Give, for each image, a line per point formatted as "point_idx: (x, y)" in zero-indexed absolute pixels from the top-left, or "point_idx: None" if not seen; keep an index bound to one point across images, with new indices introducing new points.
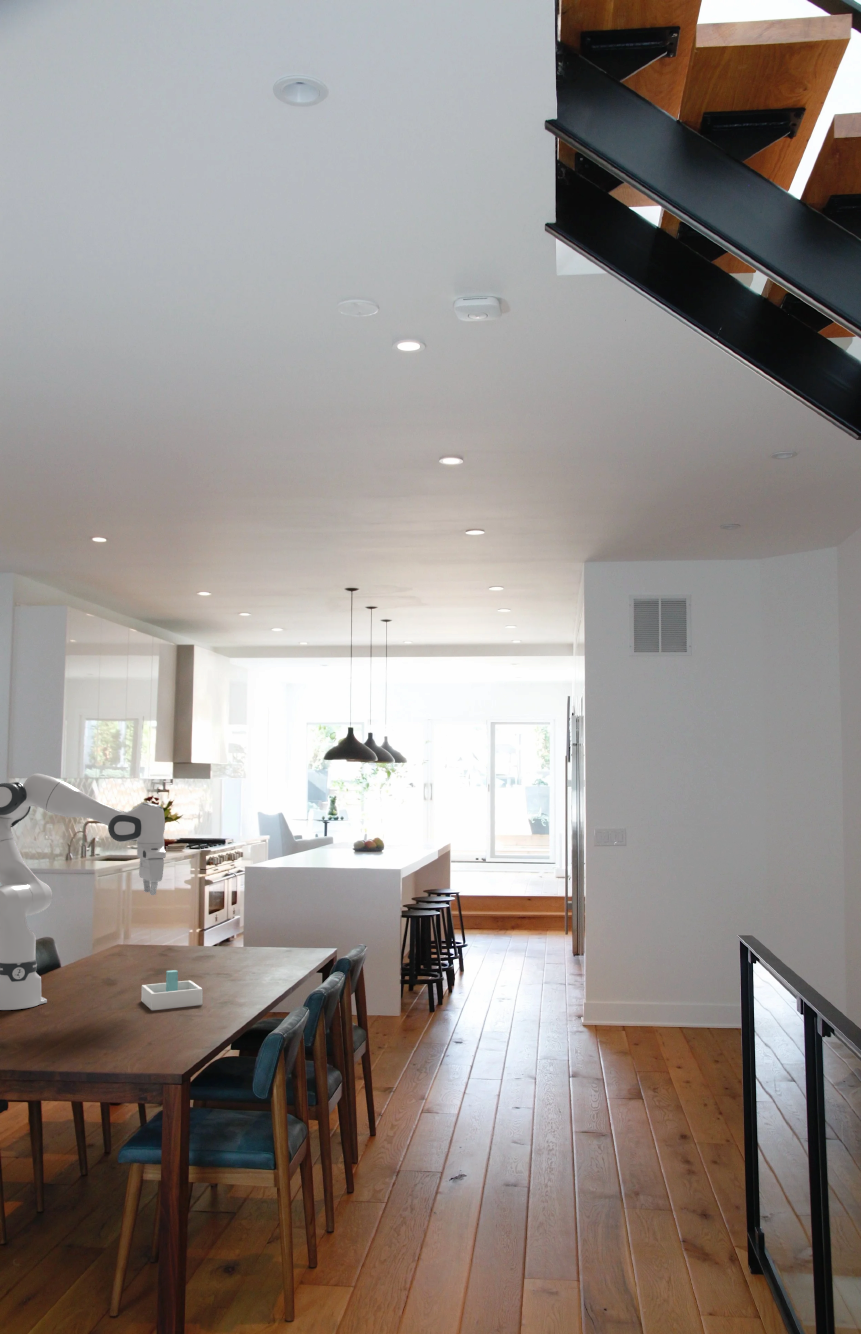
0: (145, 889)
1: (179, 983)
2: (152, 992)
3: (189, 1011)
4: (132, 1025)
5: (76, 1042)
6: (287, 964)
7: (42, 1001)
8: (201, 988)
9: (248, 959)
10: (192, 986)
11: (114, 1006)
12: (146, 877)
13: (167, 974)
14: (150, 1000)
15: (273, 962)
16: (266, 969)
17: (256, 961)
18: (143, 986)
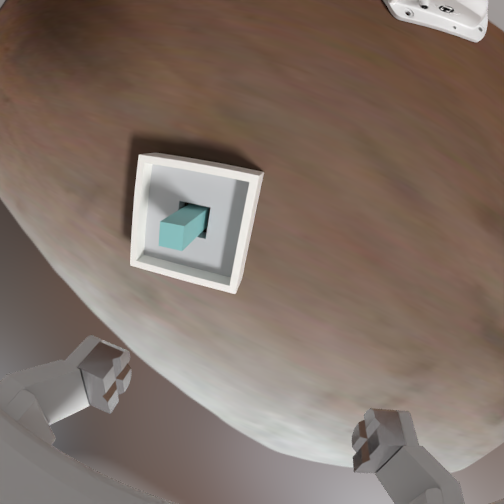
0: (376, 429)
1: (233, 265)
2: (152, 161)
3: (115, 211)
4: (82, 91)
5: (57, 13)
6: None
7: (389, 5)
8: (133, 264)
9: (436, 448)
10: (189, 273)
11: (257, 103)
12: (65, 492)
13: (173, 221)
14: (160, 155)
15: None
16: None
17: None
18: (238, 172)
